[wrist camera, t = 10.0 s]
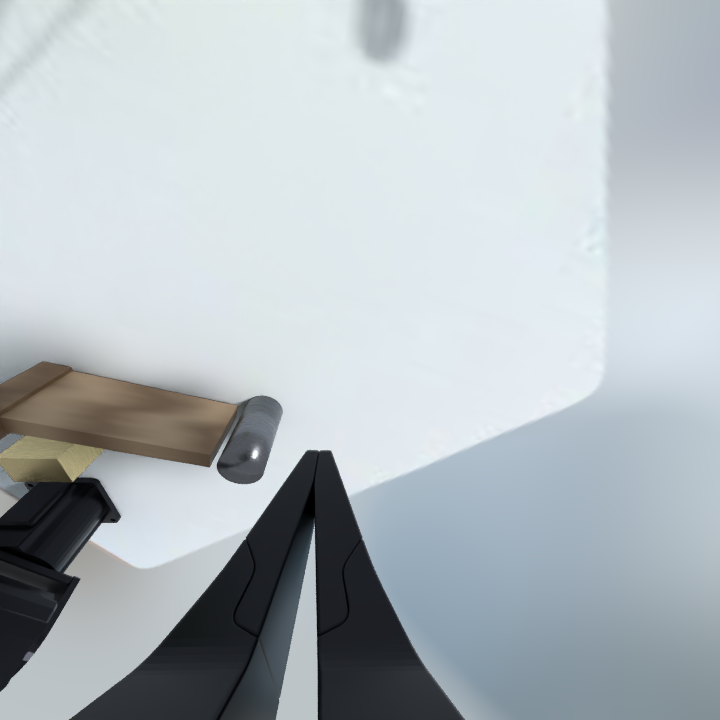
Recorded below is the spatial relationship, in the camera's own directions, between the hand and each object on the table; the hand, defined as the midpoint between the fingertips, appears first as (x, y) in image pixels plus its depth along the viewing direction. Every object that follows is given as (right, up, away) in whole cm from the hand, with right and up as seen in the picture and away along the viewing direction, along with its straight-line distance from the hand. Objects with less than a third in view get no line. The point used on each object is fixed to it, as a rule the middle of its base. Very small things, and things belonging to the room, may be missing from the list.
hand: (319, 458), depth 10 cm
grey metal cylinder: (-7, -1, +14) cm, 16 cm away
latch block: (-21, -2, +14) cm, 26 cm away
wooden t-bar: (-15, +1, +12) cm, 19 cm away
